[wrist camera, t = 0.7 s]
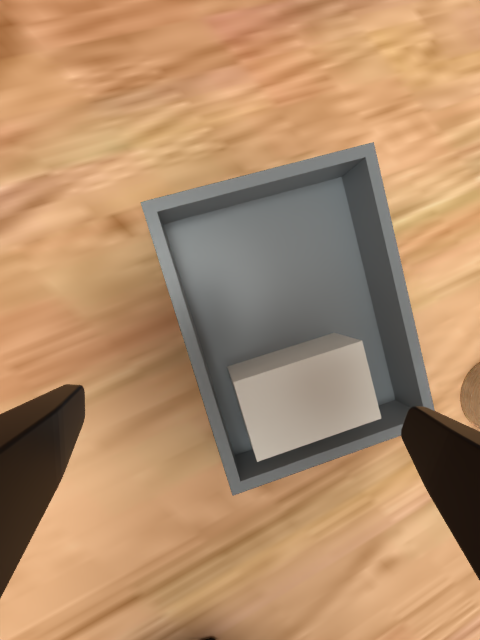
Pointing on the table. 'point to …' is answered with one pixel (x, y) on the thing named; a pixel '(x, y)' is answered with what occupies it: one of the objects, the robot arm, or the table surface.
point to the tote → (290, 292)
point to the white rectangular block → (304, 393)
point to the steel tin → (472, 396)
